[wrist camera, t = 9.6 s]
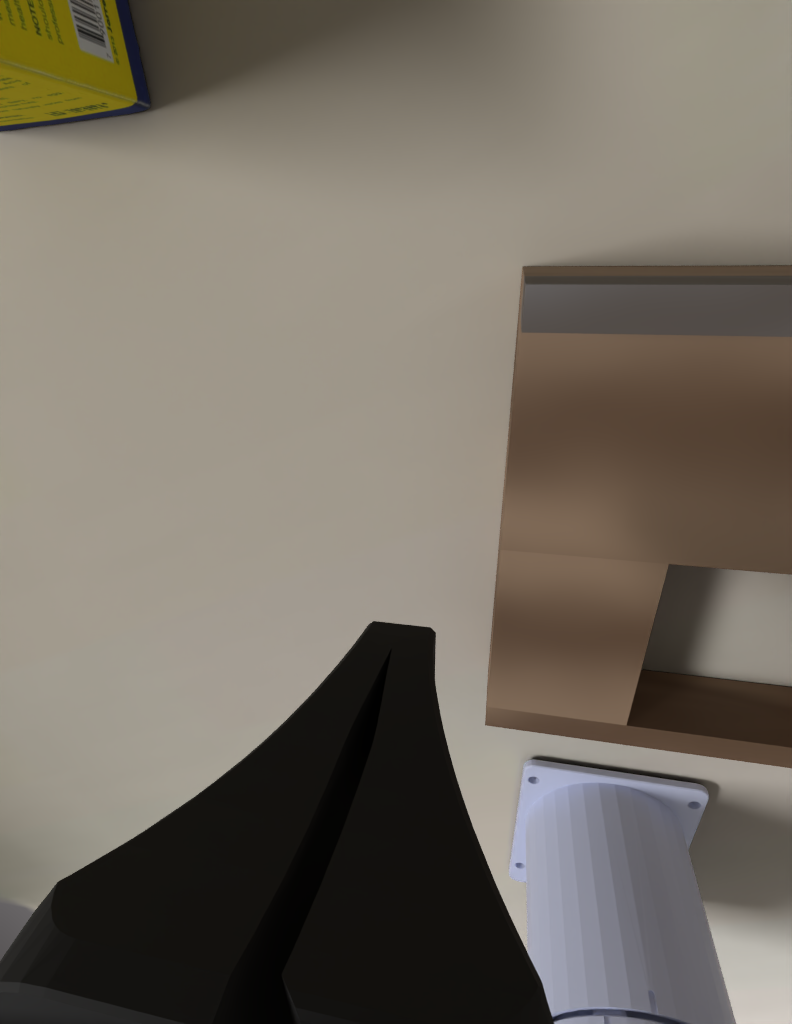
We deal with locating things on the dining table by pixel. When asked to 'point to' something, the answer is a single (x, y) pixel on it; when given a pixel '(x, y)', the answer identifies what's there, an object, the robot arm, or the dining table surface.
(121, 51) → the supplement box
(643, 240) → the dining table surface
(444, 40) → the dining table surface
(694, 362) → the deck
